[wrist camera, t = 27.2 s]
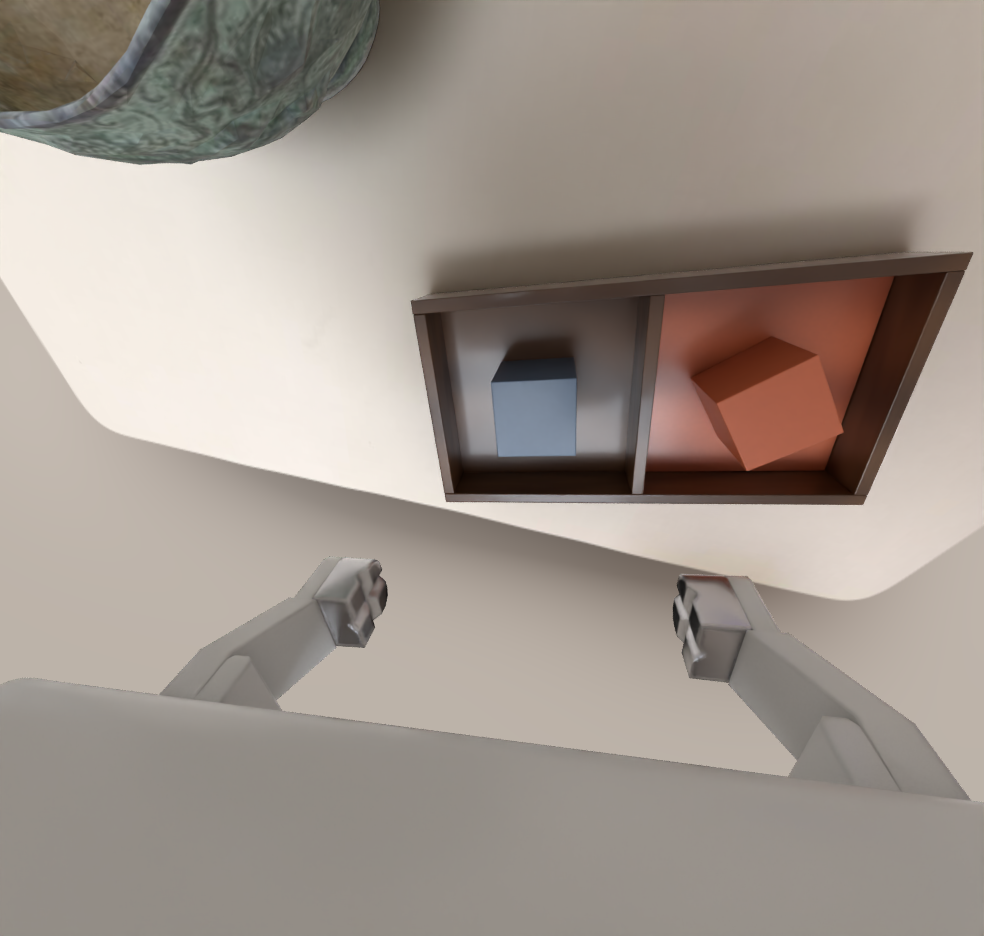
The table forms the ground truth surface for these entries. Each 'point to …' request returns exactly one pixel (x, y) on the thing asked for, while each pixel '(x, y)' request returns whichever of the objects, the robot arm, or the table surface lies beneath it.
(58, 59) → the bowl
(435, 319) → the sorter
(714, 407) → the terracotta block
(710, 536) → the table surface
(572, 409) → the slate block
